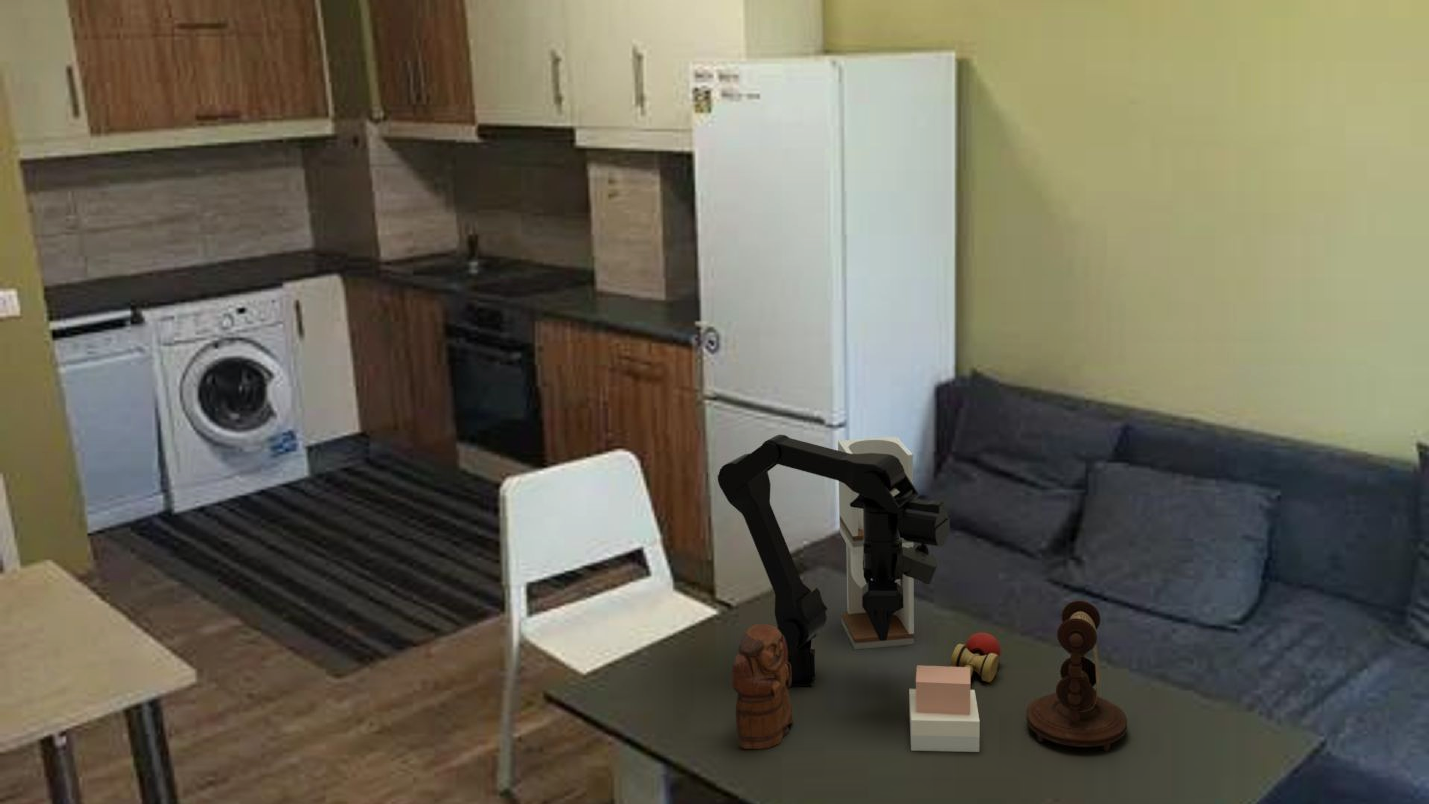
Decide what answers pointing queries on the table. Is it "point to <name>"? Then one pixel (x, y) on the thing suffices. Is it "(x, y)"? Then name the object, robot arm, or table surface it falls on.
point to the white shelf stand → (852, 533)
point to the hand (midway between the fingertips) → (882, 627)
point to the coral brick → (943, 689)
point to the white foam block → (944, 728)
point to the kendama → (978, 655)
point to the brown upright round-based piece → (1077, 689)
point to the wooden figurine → (762, 687)
